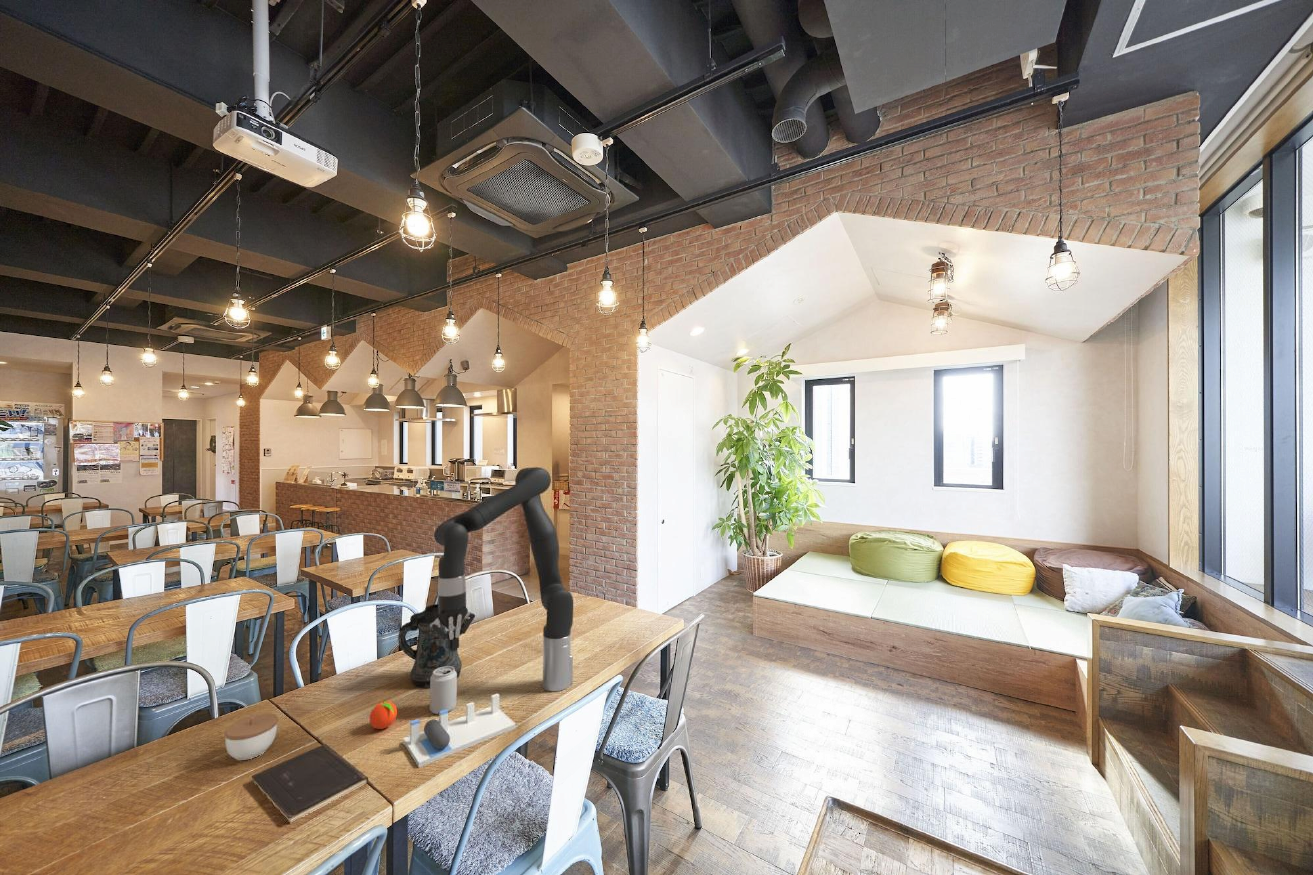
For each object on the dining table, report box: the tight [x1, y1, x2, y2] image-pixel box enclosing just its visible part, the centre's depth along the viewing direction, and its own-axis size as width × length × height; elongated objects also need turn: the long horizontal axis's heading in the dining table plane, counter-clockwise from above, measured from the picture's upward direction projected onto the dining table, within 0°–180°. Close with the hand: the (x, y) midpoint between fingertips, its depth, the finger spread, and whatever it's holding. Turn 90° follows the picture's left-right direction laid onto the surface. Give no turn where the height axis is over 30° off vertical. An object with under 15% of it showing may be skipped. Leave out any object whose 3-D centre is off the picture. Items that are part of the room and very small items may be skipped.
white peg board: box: [402, 693, 517, 768], centre depth 135 cm, size 26×14×7 cm, turn 132°
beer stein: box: [397, 604, 463, 689], centre depth 169 cm, size 16×19×25 cm
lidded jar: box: [224, 712, 279, 760], centre depth 127 cm, size 11×11×9 cm
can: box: [429, 666, 458, 715], centre depth 149 cm, size 8×8×12 cm
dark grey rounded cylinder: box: [423, 718, 450, 750], centre depth 130 cm, size 12×4×4 cm, turn 42°
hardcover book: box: [251, 743, 369, 824], centre depth 115 cm, size 16×23×2 cm
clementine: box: [369, 700, 398, 730], centre depth 139 cm, size 8×7×7 cm
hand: (453, 650), depth 140 cm, fingers closed
